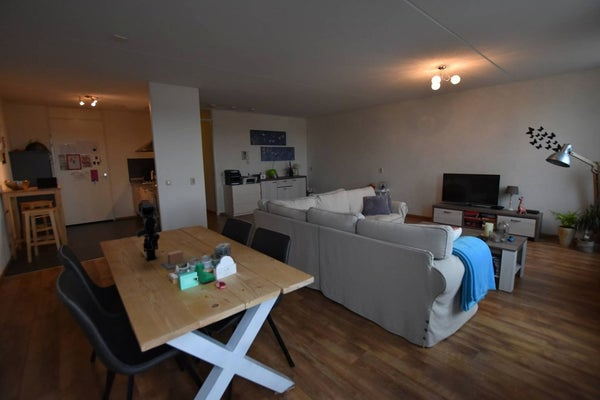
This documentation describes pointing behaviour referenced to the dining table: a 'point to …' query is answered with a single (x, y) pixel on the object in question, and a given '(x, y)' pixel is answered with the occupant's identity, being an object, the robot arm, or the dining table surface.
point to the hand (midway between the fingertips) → (151, 247)
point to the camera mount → (203, 273)
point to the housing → (175, 257)
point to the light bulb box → (223, 249)
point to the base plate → (169, 267)
